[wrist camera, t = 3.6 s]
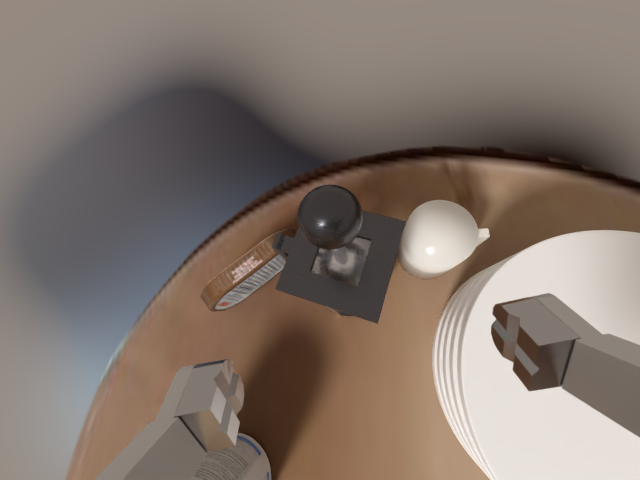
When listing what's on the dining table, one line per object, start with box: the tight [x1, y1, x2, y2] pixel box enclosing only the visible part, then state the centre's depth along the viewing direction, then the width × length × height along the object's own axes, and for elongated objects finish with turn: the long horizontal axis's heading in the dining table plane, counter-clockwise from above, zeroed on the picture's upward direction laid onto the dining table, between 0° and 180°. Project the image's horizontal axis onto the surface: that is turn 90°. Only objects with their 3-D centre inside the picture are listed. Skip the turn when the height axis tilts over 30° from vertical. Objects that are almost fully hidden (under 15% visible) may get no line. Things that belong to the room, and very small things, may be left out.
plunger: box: [298, 185, 371, 286], centre depth 22 cm, size 7×7×14 cm
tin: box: [200, 228, 296, 311], centre depth 38 cm, size 15×3×8 cm, turn 127°
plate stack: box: [432, 230, 640, 480], centre depth 29 cm, size 28×28×12 cm
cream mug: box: [397, 200, 490, 279], centre depth 36 cm, size 9×8×9 cm
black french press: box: [272, 211, 406, 324], centre depth 34 cm, size 12×10×15 cm
